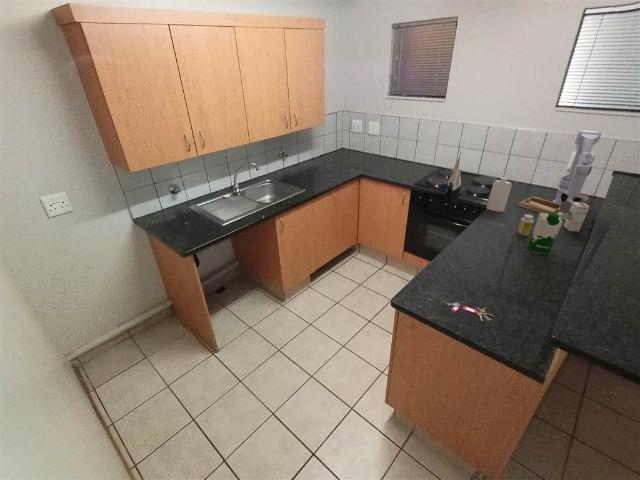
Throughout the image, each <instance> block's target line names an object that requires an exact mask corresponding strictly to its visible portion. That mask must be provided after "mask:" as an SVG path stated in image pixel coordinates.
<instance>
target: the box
mask: <svg viewBox="0 0 640 480" xmlns="http://www.w3.org/2000/svg"><path fill="white" fill-rule="evenodd" d="M572 203H573V200H566V201H563V203H562V205H561V207H560V210H559V212H562V213H565V214H568V213H569V210H570V208H571V205H572Z"/></svg>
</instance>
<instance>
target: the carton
mask: <svg viewBox="0 0 640 480" xmlns="http://www.w3.org/2000/svg"><path fill="white" fill-rule="evenodd" d="M518 207H521V208H524V209H527V210H529V211H533V212H535V213H539V214H540V213H545V214H549V213H554V214H556V213H558V212H559V210H560V207H561V204H559V203H555V202H552V201H550V200H548V199H544V198H540V197H538V196H531V197H529V198H526V199H524V200H522V201H520V202H519V203H518Z"/></svg>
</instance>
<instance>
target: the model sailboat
mask: <svg viewBox="0 0 640 480" xmlns="http://www.w3.org/2000/svg"><path fill="white" fill-rule="evenodd" d="M461 154H462V151H460V153H459V157H458V159H457V161H456V163H455V165H454V167H453V168H452V171H451V173H450V176H449V180H448V181H447V184H446V187H445V188H446V189H445V191H444V194H443V200H444V202H446V203H448V204H449V205H452V204H455V203H457V202H458V201H459V199H460V193H461V186H462V180H461V167H460V166H461V165H460V164H461V163H460V159H461Z"/></svg>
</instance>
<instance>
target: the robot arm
mask: <svg viewBox="0 0 640 480" xmlns="http://www.w3.org/2000/svg"><path fill="white" fill-rule="evenodd" d="M601 135H602V132H601V131H600V130H599V131H598V130H586V129H585V130H584V129H580V130H578V133H577V134H576V138H575V140H574V144H575V145H576V146H577V149H576V151H575V154H574V158H573V159H572V162H571V165H570V168H569V171H568V172H567V173H564V174H562V176H561V177H560V180H559V182H558V185H557V187H558V188H559V189H557V192H556V197H555V199H554V200H552V201H551V202H554V203H558V204H561V205H562V203H563V201H566V200H572V199H573V198H574V199H573V200H572V201H573V202H581V201H582V200H583V201H585V202H586V201H588V200H589V198H590V196H588V195H585V194H582V193H581V191H582V188H583V187H584V185H585V182H586V180H587V178H588V176H589V175H590V174H591V172H592V170H593V169H592V168H593V164H592V160H593V154H592V153H591V152H592V149H593V147H594V146H595V145H596V144H597V143H598V142H599V141H600V139H601Z"/></svg>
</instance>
